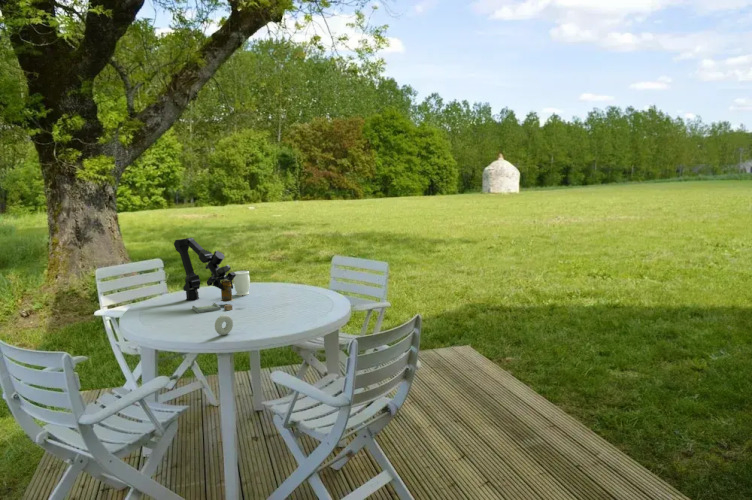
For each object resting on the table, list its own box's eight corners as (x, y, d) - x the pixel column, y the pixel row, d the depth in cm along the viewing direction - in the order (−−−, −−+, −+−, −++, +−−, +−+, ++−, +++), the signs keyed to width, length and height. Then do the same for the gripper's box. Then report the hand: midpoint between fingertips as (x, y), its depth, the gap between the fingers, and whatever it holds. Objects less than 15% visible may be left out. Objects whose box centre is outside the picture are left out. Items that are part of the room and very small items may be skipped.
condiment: (230, 298, 340) (228, 278, 338) (236, 300, 333) (234, 280, 331) (218, 300, 335) (217, 280, 333) (224, 302, 329) (223, 282, 327)
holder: (192, 309, 327) (192, 306, 327) (214, 305, 333) (214, 302, 333) (197, 313, 316) (197, 310, 316) (220, 309, 322) (220, 306, 322)
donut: (218, 338, 265) (216, 317, 263) (213, 336, 267) (212, 316, 265) (235, 332, 272) (233, 313, 271) (230, 331, 275) (229, 312, 273)
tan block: (224, 309, 323) (224, 305, 322) (229, 308, 325) (228, 304, 324) (227, 310, 320) (227, 306, 319) (232, 309, 322) (232, 305, 321)
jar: (248, 296, 358) (247, 273, 356) (232, 296, 358) (231, 273, 356) (252, 292, 368) (251, 270, 367) (237, 293, 369) (235, 270, 367)
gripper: (208, 263, 326) (222, 283, 321) (233, 258, 341) (246, 278, 336) (200, 275, 331) (214, 295, 327) (225, 270, 346) (238, 289, 342)
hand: (228, 289), depth 333 cm, fingers closed on condiment, 6 cm apart
